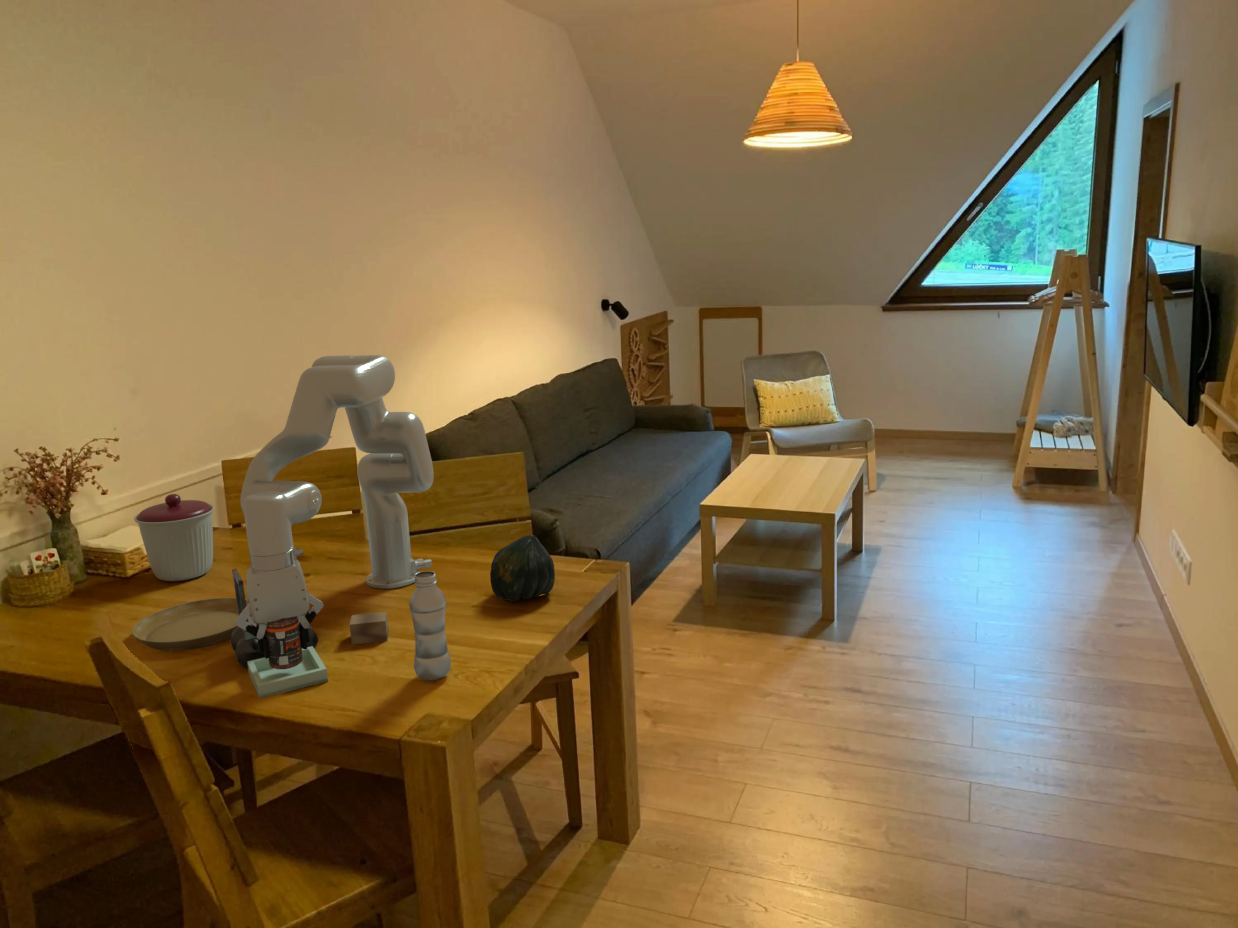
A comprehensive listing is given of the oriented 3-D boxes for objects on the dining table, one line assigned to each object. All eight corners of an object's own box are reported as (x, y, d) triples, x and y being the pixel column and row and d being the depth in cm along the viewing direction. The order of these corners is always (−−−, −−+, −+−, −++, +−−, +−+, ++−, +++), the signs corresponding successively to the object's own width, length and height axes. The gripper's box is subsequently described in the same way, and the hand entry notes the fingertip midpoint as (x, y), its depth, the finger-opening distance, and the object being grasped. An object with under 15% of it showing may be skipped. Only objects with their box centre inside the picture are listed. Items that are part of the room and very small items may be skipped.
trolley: (309, 636, 186) (300, 556, 182) (319, 652, 178) (309, 568, 174) (232, 654, 178) (220, 571, 174) (238, 671, 171) (226, 584, 167)
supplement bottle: (292, 671, 164) (284, 613, 161) (263, 669, 165) (255, 612, 162) (309, 657, 169) (302, 601, 167) (281, 655, 171) (273, 599, 168)
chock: (388, 631, 187) (386, 611, 186) (387, 641, 183) (385, 620, 182) (354, 635, 186) (351, 615, 185) (351, 645, 181) (349, 624, 180)
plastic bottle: (417, 670, 169) (408, 569, 164) (453, 667, 169) (445, 567, 165) (412, 686, 162) (402, 581, 158) (450, 683, 163) (441, 579, 158)
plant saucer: (116, 636, 190) (113, 622, 190) (227, 602, 208) (225, 589, 207) (163, 667, 175) (161, 651, 174) (279, 627, 192) (277, 613, 191)
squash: (468, 574, 203) (497, 533, 195) (514, 558, 215) (543, 519, 207) (503, 624, 199) (535, 584, 191) (548, 604, 211) (580, 566, 202)
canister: (238, 569, 230) (227, 489, 225) (171, 592, 215) (158, 507, 210) (196, 558, 239) (184, 482, 234) (129, 580, 224) (115, 499, 220)
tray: (314, 657, 176) (312, 645, 175) (328, 681, 166) (326, 668, 165) (248, 673, 170) (247, 661, 169) (259, 698, 160) (257, 685, 159)
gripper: (317, 544, 170) (327, 633, 174) (219, 563, 162) (232, 655, 166) (326, 555, 164) (337, 646, 168) (224, 575, 155) (238, 670, 159)
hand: (285, 650), depth 167 cm, fingers closed on supplement bottle, 6 cm apart
